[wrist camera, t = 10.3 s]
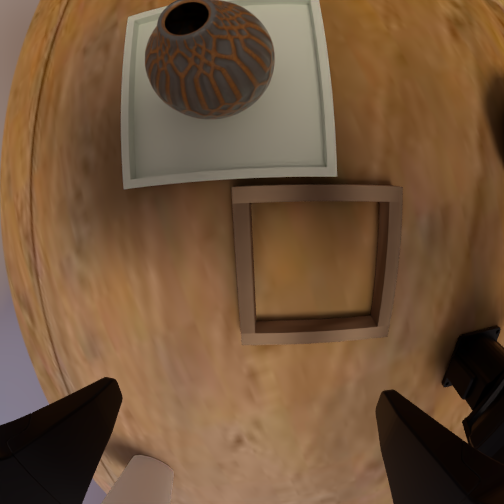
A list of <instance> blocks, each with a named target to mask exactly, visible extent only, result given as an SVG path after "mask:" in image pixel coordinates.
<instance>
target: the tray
mask: <svg viewBox="0 0 504 504" xmlns="http://www.w3.org/2000/svg"><path fill="white" fill-rule="evenodd" d="M221 1H227V2H231V3H234V4H237V5H239V6H241V7H243V8H245V9H246V10H248V11H250V12H251V13H252V14H253V15H255V16H256V17H257V18H258V19H259V20H260V22H261V23H262V24H263V25H264V27H265V28H266V30H267V31H268V33H269V35H270V37H271V40H272V43H273V46H274V52H275V65H274V71H273V75H272V78H271V81H270V83H269V85H268V87H267V89H266V91H265V92H264V93H263V95H262V96H261V97H260V98H259V99H258V100H257V101H256V102H255V103H254V104H253V105H251V106H250V107H249V108H247V109H246V110H244V111H242V112H240V113H238V114H236V115H233V116H230V117H226V118H221V119H198V118H193V117H190V116H187V115H184V114H182V113H180V112H178V111H176V110H174V109H173V108H171V107H170V106H168V105H167V104H166V103H164V102H163V101H162V100H161V99H160V98H159V96H158V95H157V94H156V93H155V91H154V90H153V88H152V86H151V84H150V82H149V79H148V77H147V73H146V69H145V50H146V46H147V43H148V40H149V38H150V36H151V34H152V32H153V30H154V29H155V27H156V26H157V22H158V19H159V16H160V14H161V13H162V12H163V10H164V9H165V8H166V7H167V6H165V7H161V8H157V9H154V10H150V11H146V12H143V13H140V14H136V15H133V16H130V17H128V22H127V29H126V38H125V47H124V58H123V71H122V90H121V153H122V173H123V188H124V189H131V188H138V187H147V186H156V185H165V184H175V183H186V182H197V181H210V180H225V179H243V178H267V177H337V159H336V138H335V122H334V108H333V97H332V87H331V77H330V69H329V60H328V53H327V46H326V39H325V32H324V26H323V20H322V15H321V9H320V4H319V0H221Z"/></svg>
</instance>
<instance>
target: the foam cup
mask: <svg viewBox="0 0 504 504" xmlns="http://www.w3.org/2000/svg"><path fill="white" fill-rule="evenodd" d="M173 476H174V473H173V470H172V469H171V468H170V467H169V466H168V465H166V464H165V463H163V462H161V461H159V460H157V459H154V458H152V457H149V456H144V455H134V457H133V458H132V459H131V460H130V462H129V463H128V465H127V466H126V468H125V469H124V471H123V472H122V474H121V475H120V476H119V478H118V479H117V481H116V482H115V484H114V485H113V487H112V488H111V490H110V491H109V493H108V494H107V496H106V497H105V499H104V500H103V502H102V503H101V504H170V502H171V493H172V485H173Z"/></svg>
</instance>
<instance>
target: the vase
mask: <svg viewBox="0 0 504 504" xmlns="http://www.w3.org/2000/svg"><path fill="white" fill-rule="evenodd" d="M274 65H275V52H274V46H273V43H272V40H271V37H270V35H269V33H268V31H267V30H266V28H265V27H264V25H263V24H262V23H261V22H260V20H259V19H258V18H257V17H256V16H255V15H253V14H252V13H251V12H250V11H248V10H246V9H245V8H243V7H241V6H239V5H237V4H234V3H231V2H227V1H221V0H177V1H175V2H173V3H171V4H170V5H169V6H167V7H166V8H165V9H164V10H163V12H162V13H161V14H160V16H159V19H158V22H157V26H156V27H155V29H154V30H153V32H152V34H151V36H150V38H149V40H148V43H147V46H146V50H145V69H146V73H147V77H148V79H149V82H150V84H151V86H152V88H153V90H154V91H155V93H156V94H157V95H158V96H159V98H160V99H161V100H162V101H163V102H164V103H166V104H167V105H168V106H170V107H171V108H173V109H174V110H176V111H178V112H180V113H182V114H184V115H187V116H190V117H193V118H198V119H221V118H226V117H230V116H233V115H236V114H238V113H240V112H242V111H244V110H246V109H247V108H249V107H250V106H251V105H253V104H254V103H255V102H256V101H257V100H258V99H259V98H260V97H261V96H262V95H263V93H264V92H265V91H266V89H267V87H268V85H269V83H270V81H271V78H272V75H273V71H274Z"/></svg>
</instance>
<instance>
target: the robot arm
mask: <svg viewBox="0 0 504 504" xmlns="http://www.w3.org/2000/svg"><path fill="white" fill-rule="evenodd" d="M500 330H501V329H500V327H499V326H494V327H491V328H487V329H483V330H479V331H475V332H471V333H467V334H462V335H461V336H460V337H459V338H458V340H457V344H456V347H455V350H454V353H453V355H452V358H451V361H450V364H449V367H448V369H447V372H446V374H445V377H444V379H443V382H442V385H443V387H448V386H452V385H453V387H454V388H455V390H456V391H457V392H458V394H459V395H460V397H461V398H462V399H463V400H464V399H465V400H466V401H467V403H468V404H469V406H470V407H471V409H472V410H473V411H472V412H471V413H470V414H469V416H468V417H466V418H465V419H464V420H463V421H462V423H463V426H464V430H465V434H466V437H467V440H468V443H466V442H465V441H462V439H461V438H459V437H458V436H456V435H455V434H454V433H452V432H451V431H450V430H448V429H447V428H445V427H444V426H443V425H441V424H440V423H439V422H437V421H436V420H434V419H433V418H432V417H430V416H429V415H428V414H426V413H425V412H424V411H422V410H421V409H420V408H418V407H417V406H415V405H414V404H413V403H411V402H410V401H409V400H407V399H406V398H405V397H403V396H402V395H401V394H399V393H398V392H397V391H395V390H385V391H383V392H382V393H381V395H380V398H379V401H378V403H377V406H376V419H377V426H378V433H379V440H380V447H381V452H382V457H383V461H384V464H385V468H386V473H387V477H388V481H389V485H390V490H391V494H392V498H393V503H394V504H504V347H503V346H502V345H500V344H499V343H498V342H497V339H498V336H499V333H500ZM121 403H122V393H121V391H120V388H119V385H118V383H117V381H116V380H115V379H113V378H109V377H104V378H102V379H100V380H98V381H96V382H94V383H92V384H90V385H88V386H86V387H84V388H82V389H80V390H78V391H76V392H74V393H72V394H70V395H68V396H66V397H64V398H62V399H60V400H58V401H56V402H54V403H52V404H49V405H47V406H45V407H43V408H41V409H39V410H37V411H35V412H33V413H32V414H31V413H30V414H28V415H26V416H24V417H21V418H19V419H16V420H14V421H11V422H8V423H6V424H3V425H0V504H82V502H83V500H84V497H85V495H86V492H87V490H88V487H89V485H90V483H91V480H92V478H93V475H94V473H95V471H96V468H97V466H98V464H99V461H100V459H101V457H102V454H103V452H104V450H105V447H106V445H107V443H108V441H109V438H110V436H111V434H112V431H113V428H114V425H115V422H116V418H117V415H118V412H119V409H120V406H121Z"/></svg>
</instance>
